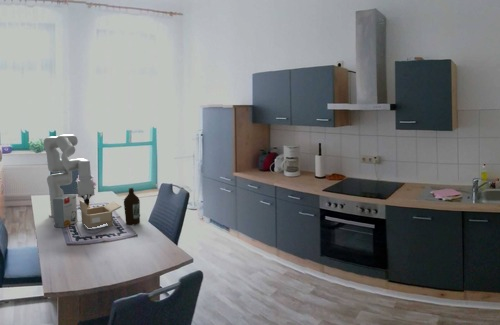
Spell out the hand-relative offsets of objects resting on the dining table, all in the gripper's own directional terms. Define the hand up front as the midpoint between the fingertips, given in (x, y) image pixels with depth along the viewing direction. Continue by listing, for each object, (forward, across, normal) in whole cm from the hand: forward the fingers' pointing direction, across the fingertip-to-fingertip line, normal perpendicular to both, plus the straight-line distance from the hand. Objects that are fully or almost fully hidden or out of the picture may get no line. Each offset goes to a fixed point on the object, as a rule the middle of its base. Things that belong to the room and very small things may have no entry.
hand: (86, 204), depth 274 cm
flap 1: (+1, +2, 0) cm, 2 cm away
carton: (+15, -6, 0) cm, 16 cm away
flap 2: (+4, -17, 0) cm, 18 cm away
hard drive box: (+15, +11, -14) cm, 24 cm away
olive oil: (+15, -27, +12) cm, 33 cm away
